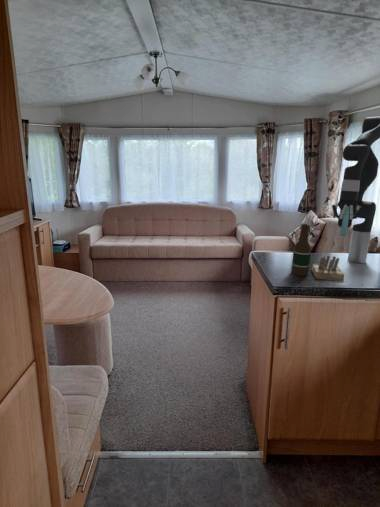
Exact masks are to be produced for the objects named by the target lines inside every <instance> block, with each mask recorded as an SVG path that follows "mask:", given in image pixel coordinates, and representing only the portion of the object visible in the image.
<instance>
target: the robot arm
mask: <svg viewBox="0 0 380 507" xmlns="http://www.w3.org/2000/svg"><path fill="white" fill-rule="evenodd" d="M379 139H380V116H379V115H378V116H369V117H365V118H364V119H363V121H362V126H361V134H360V135H359V136H357V138H356V140H354V141H352V142H349V143H348V144H347V145H346V146H345V147H344V148H343V151H342V157H343V160H345V161H346V162H347V161H348V162H356V164H353V165H349V166H346V167H345V168H344V172H343V180H342V183H341V186H340V193H339V201H338V202H337V203H336V204H335V203H334V204H332V205H331V208H332V212H333V215H334V217H335V218H337V219H338V220H337V226H338V227H339V228H340V227H341V225H342V217H343V214H344V212H345V209H346V207H347V206H350V217H349V223H348V229H349V228H351V227H352V229H351V236H350V242H349V247H348V254H347V255H348V256H347V262H351V263H355V264H365V263H366V262H367V257H368V251H369V246H370V238H371V234H372V229H373V225H374V221H375V220H374V219H375V215H376V211H377V205H376V203H375V202H374V201H369V200H368V201H367V200H363V198H364V195H365V193H366V191H367V189H368V188H369V187H370V186H371V184H373V182H374V181H375V180H376V179H377V176H378V170H379V161H378V158H377V157H376V155H375V152H374V150H373V148H372V145H373V144H375V142H377V141H378V140H379ZM338 208H339V209H340V211H339V213H338V210H337V209H338ZM357 218H358V219H364V221H362V222H361V223H356V224H353V220H355V219H357ZM352 224H353V225H352Z"/></svg>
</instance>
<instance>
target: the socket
mask: <svg viewBox="0 0 380 507" xmlns="http://www.w3.org/2000/svg"><path fill="white" fill-rule="evenodd" d="M330 257H331V255H327V256H326V255H322V256H321V257H320V260H319V264H317V263H316V264H315V263H312V265H311V266H312V268H311V271H312V274H313V276H314V278H315V279H319V280H329V281H338V282H344V279H345V274H344V272H343V271H342V270H341V268H340V267H339V266H338V265H339V262H340V257H336V256H335V255H334V256H333V257H332V259H330Z"/></svg>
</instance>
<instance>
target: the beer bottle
mask: <svg viewBox="0 0 380 507" xmlns="http://www.w3.org/2000/svg"><path fill="white" fill-rule="evenodd" d="M309 228H310V224H307V223H302V224H301V225H300V232H299V238H298V240H297V241H296V243H295V245H294V247H293V252H292V262H291V274H293V275H294V276H298V277H306V276H308V274H309V271H310V270H309V269H310V260H311V253H312V248H311V245H310V243H309Z"/></svg>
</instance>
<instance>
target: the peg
mask: <svg viewBox="0 0 380 507" xmlns="http://www.w3.org/2000/svg"><path fill="white" fill-rule="evenodd" d="M349 217H350V206H347V207H346V209H345V212H344V214H343V217H342V225H341V227H339V237H347V236H348V229H349V228H348V223H349Z"/></svg>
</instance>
